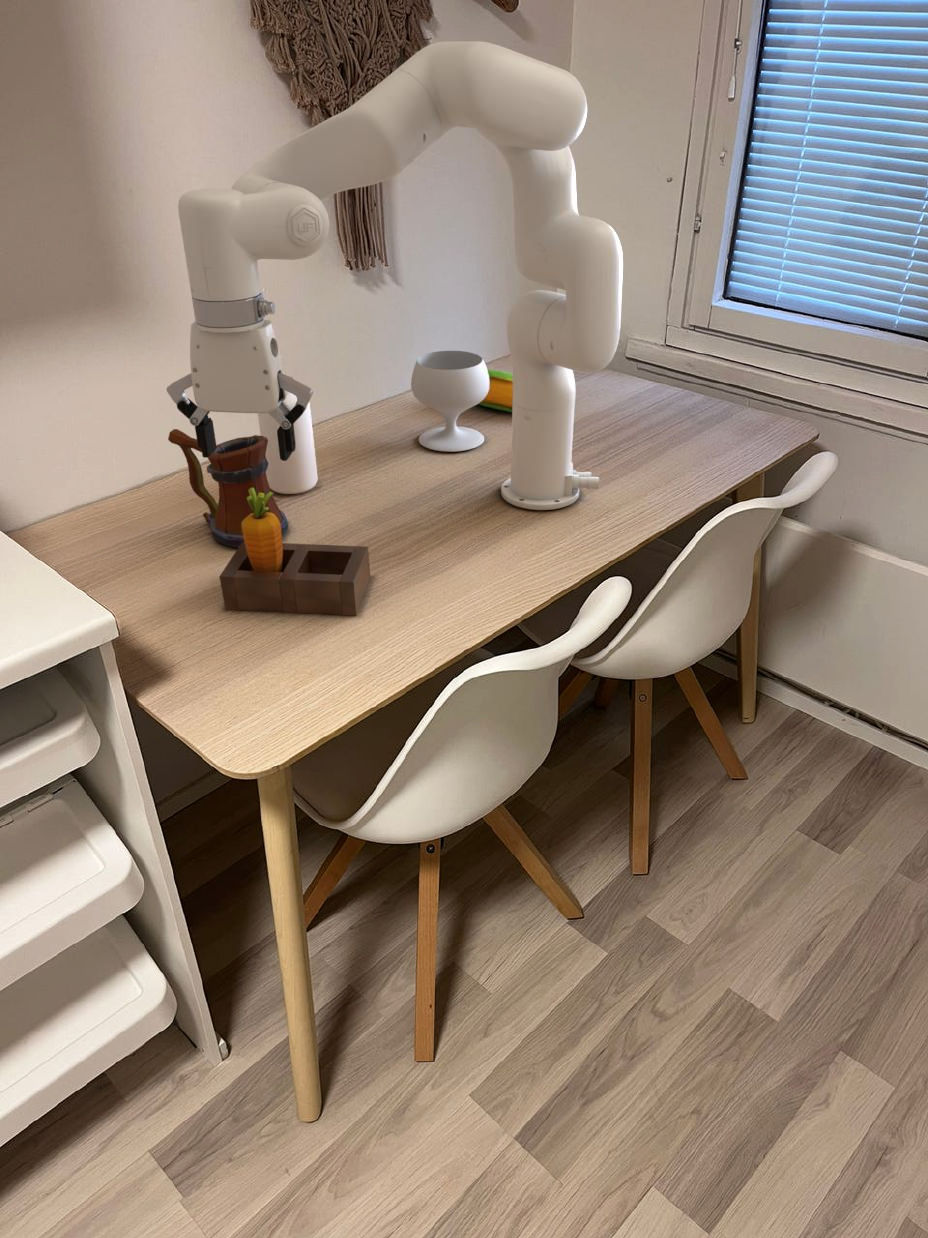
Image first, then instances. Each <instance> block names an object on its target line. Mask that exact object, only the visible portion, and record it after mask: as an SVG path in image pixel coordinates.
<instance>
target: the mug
mask: <svg viewBox="0 0 928 1238" xmlns="http://www.w3.org/2000/svg"><path fill="white" fill-rule="evenodd" d="M167 440H168V441H169V442H170V443H171V444H173V445H177V446H178V447H179V448H180V449H181V451H182V452H183V455H184V457H185V459H186V464H187V468H188V475H189V476H188V477H189V478H188V479H189V484H190V487H191V489H192V491H193V492H194V494H195V495H196V496H197V497H199V498H200V499H201V500H203V501H204V503H205V504H206V505H207V507H208V509H209V512H210V513H209V512H206V511H205V512H204V513H203V514H202V516H203V518H204V520H205V522H206V523H208V524H209V527H210V530H211V534H212V536H213V538H214V540H215V541H216V542H218V543H219V544H222V545H225V546H227V547H232V548H235V549H238V548H239V546H240V545H241V543H242V542H244V537H243V532H242V525H241V524H242V521H243V520H244V519H245V518H246V517H247V516H248V515H250V514H251V513H253V511H252V509H251V507H250V506H249V503H248V500H247V497H248V496H250V494H249V489H250V488H254V490H255V492H256V496H258V494H259V493H264V497H265V496H266V495H267V494H268V493H269V492H271V488H270V487H269V484H268V480H267V476H266V470H267V467H268V461H267V459H266V456H265V455H266V449H267V444H268V439H267V437H264V436H261V435H259V434H254V435H251V436H242V437H236V438H233V439H229V440H226V441H223V442H221V443H219V444H216V446H217V448H216V450H215V451H214V452H213V453H212V454H211V455H210V457H208V458H207V459H208V461H209V463H210V464H208V465H206V472H207V474H210V476H211V478H212V480H214V481H215V482H216V483H217V484H218V485H217V486H218V502H217V501H216V500H215V498H214V497H213V496H212V494H211V493H210V492H209V491H208V490H207V488H206V486H205V483H204V482H205V480H204V474H203V469H202V466H201V463H200V460H199V458H198V457H197V455H196V454H195V452H194V451H193V450H195V451H198V452H200V453H202V450H201V448H199V447H198V443H197V438H194V437H192V436H190V435H188V434H186V433H185V432H183V431H181V430H180V429H178V428H174V429H172V430H171V431H169V433H168V438H167ZM192 449H193V450H192ZM265 507H268V508H269V509H268V511H267V512H269V513H273V514H274V515H275V516H276V517H277V518H278V520H279V522H280V525H281V533H282V537H283V536H284V535H285V533H286V532H287V531H288V529H289V521H288V519H287V516H286V514H285V512H284V511H283V510H281V509H280V507H279V505H278V504H277V502H276V500H275V498H274V496H273V495H272V496H271V497H270V498H269V499H268V501H267V503H266V505H265Z"/></svg>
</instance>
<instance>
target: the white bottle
mask: <svg viewBox="0 0 928 1238" xmlns="http://www.w3.org/2000/svg"><path fill="white" fill-rule="evenodd" d="M287 376H288V377H290V378H292V379H294V377H292V376H290V375H287ZM284 402H285V403H286V405H287V406H288V407H289V408H290V409H291V410H292V408H293V407H294V406H295V404H296V402H297V397H296V396H295V395H293V394H291V393H290V392H288V391H287V396H286V399H285V400H284ZM257 418H258V425H259V433H260V434H259V435H260V436H264V437H267V439H268V444H267V449H266V455H265V456H266V459H267V461H268V467H267V470H266V476H267V480H268V484H269V488H270V490H271V491H273V492H275V493H278V494H283V495H295V494H296V495H297V494H301V493H305V492H308V491H310V490H312V489H313V488H314V487H315V486H316V485H317V482H318V480H319V477H318V476H319V475H318V468H317V458H316V448H315V439H314V431H313V421H312V411H311V402H310V401H309V403H308V405H307V407H306V410H305V411H304V413H303V414H302V415H301V416H300V417H299V418H298V419H297V420H296V421H295V423H294V434H295V443H296V448H295V451H294V452H292V454H291V455H290V457H289V458H288V460H287V461H282V460H281V459H280V453H279V445H278V436H277V430H278V428H279V427H280V425H279V424H278V423H277V422H276V421H275V419H274V418H273V417H272V416H271V415H270V414H269V413H257Z"/></svg>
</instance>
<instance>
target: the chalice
mask: <svg viewBox="0 0 928 1238" xmlns="http://www.w3.org/2000/svg"><path fill="white" fill-rule="evenodd" d="M418 357H419V358H417V359H416V362H415V364H414V367H413V370H412V372H411V373H412V374H411V380H410V388H411V391H412V394H413V396H414V398H415V399H416V400H417V401H418V402H419V403H421V404H422V405H424V406H425V407H427V408H430V409H432V410H434V411H436V412H438V413H439V414H441V415H442V416H443V418H444V420H445V426H439V427H435V428H431V429H428V430H426V431H424V432H423V433H422V434H421V435H420V436H418V443H419V444H420V445H421V446H423V447H424V448H426V449H428V450H432V451H433V450H434V451H438V452H463V451H467V450H472V449H474V448H478V447H479V446H481V445H482V444H483V443H484V442H485V436H484V435H483V434H482V433H481V432H480V431H478V430H476V429H473V428H470V427H466V426H458V425H457V420H458V418H459V416H460V415H461V414H462V413H464V412H466V411H467V410H469V409H471V408H473V407H475V406H477V405H479V404H478V403H480V402H481V401H482V400H483V399H484V398H485V397H486V395H487V394H488V391H489V382H490V381H489V374H488V370H487V369H488V368H487V365H486V363H485V360H484V359H483V358H482V356H481V355H479V354H477V353H474V352H470V351H464V350H439V351H432V352H429V353H425V354H423V355H421V356H418Z"/></svg>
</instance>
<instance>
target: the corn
mask: <svg viewBox="0 0 928 1238" xmlns="http://www.w3.org/2000/svg"><path fill="white" fill-rule="evenodd" d="M487 370H488V374H489V381H490V382H489V391H488V394H487V395H486V397H485V398H484V399H483V400H482V401H481V402H480V403H478V404H477V405H480V406H482V407H485V408H489V409H490V408H491V409H495V410H499V411H504V412H508V413H512V402H513V373H511V372H507V371H503V370H496V369H489V368H487Z"/></svg>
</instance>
